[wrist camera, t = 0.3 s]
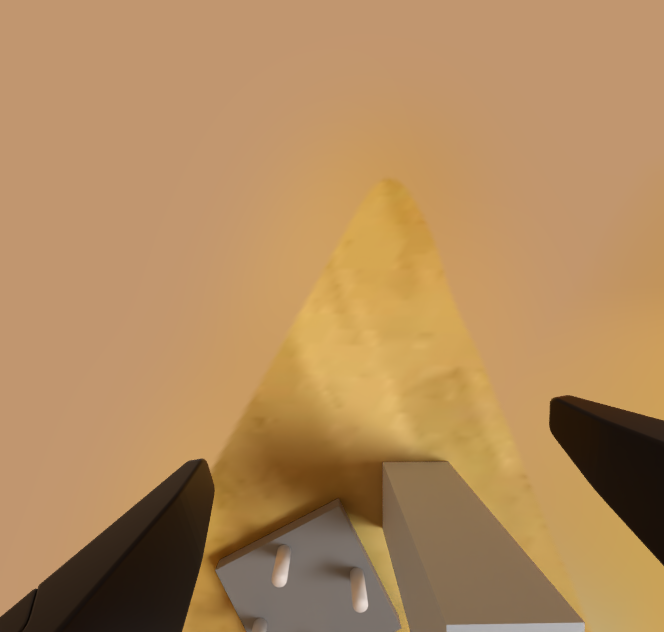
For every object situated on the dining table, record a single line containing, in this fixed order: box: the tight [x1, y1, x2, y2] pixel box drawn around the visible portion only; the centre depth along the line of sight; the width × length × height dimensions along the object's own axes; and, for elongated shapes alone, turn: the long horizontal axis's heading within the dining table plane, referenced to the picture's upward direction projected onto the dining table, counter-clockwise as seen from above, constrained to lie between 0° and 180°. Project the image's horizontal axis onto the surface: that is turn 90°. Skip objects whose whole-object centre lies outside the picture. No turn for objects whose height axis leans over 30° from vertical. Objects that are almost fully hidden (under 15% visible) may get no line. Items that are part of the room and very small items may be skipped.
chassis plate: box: [215, 498, 401, 632], centre depth 23 cm, size 10×10×4 cm
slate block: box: [383, 462, 585, 632], centre depth 18 cm, size 5×5×13 cm
